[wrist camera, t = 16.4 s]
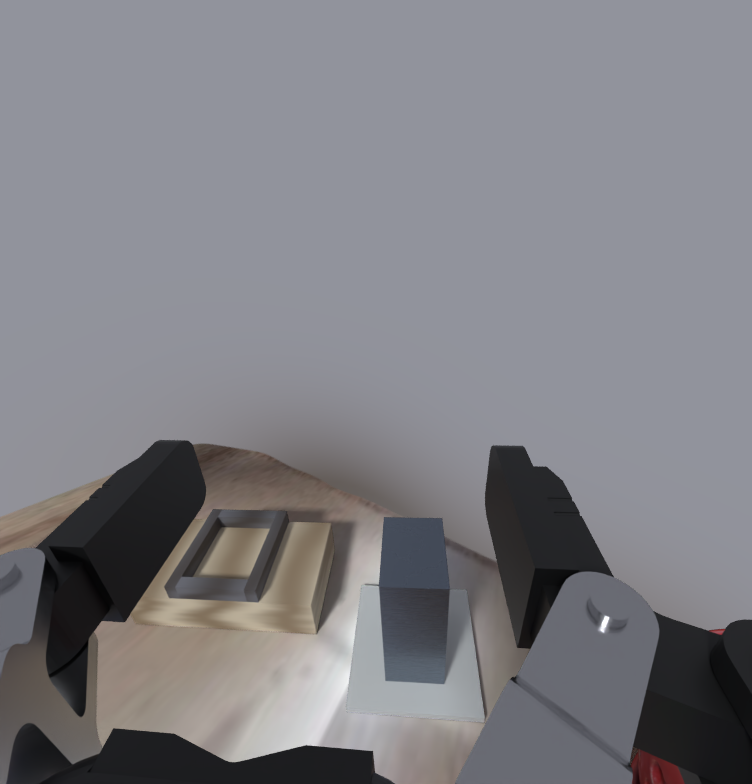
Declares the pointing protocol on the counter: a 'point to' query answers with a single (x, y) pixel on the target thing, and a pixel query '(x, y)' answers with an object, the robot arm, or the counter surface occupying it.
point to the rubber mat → (409, 698)
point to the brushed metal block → (414, 600)
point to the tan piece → (243, 575)
